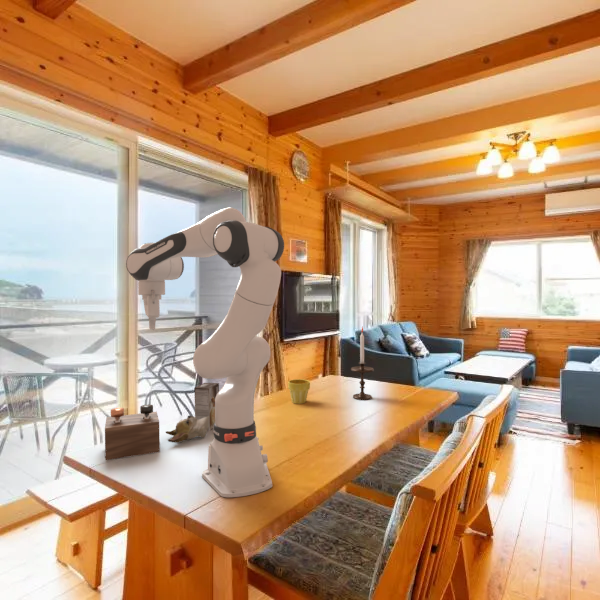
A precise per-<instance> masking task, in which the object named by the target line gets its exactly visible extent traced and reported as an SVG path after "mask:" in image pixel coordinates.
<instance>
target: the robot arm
mask: <svg viewBox="0 0 600 600" xmlns="http://www.w3.org/2000/svg"><path fill="white" fill-rule="evenodd" d="M284 240H285V239H284V238H283V235H282V234H281V233H280V232H279V231H277V230H275V229H274V228H272V227H269V226H264V225H260V224H258V223H255V222H251V221H250V222H249V221H247V220H246V217H245V216H244V215H243V213H242V212H241V211H240V210H238V209H237V208H234V207H225V208H222V209H219V210H217V211H215V212H213V213H211V214H209V215H207V216H206V217H204V218H203V219H201V220H200V221H198V222H197V223H195V224H193V225H191V226H189V227H187V228H184V229H182V230H180V231H178V232H175V233H171V234H170V235H168V236H165V237H163V238H162V239H160V240H158V241H155V242H147V243H143V244H141V245H140V247H139V248H138V247H137V248H135V249H134V250H132V251H131V252H130V253H129V255H128V256H127V259H126V263H125V265H126V266H125V267H126V270H127V272H128V273H129V275H130V276H132V278H133V279H134V280H136V281H137V285H138V286H137V288H138V291H137V292H138V293H137V294H138V296H141V297H142V300H143V306H144V312H145V313H144V314H145V316H146V317H147V318H148V325H149V326H148V327H149V328H148V329H149V330H150V331H152V330H153V331H154V330H156V321H157V318H160V316H161V315H160V311H161V310H160V300H162V296H164V295H166V281H174V280H178V279H179V278H181V276H182V275H183V273H184V270H185V263H184V260H183V258H211V257H213V256H217V255H218V256H219V257H220V258H222V259H223V260H224V261H225V262H227V263H228V265H229V266H230V267H232V268H238V267H239V269H240V277H239V281H238V284H237V286H236V290H235V292H234V295H233V299H232V301H231V303H230V306H229V308H228V311H227V314H226V315H225V316H224V319H223V321H222V322H221V323H220V325H219V326H218V327H217V328H216V330H215V331H214V332H213V333H212V334H211V335H210V336H209V337H208V338H207V339H206V340H204V341H203V342H201V344H199V345H198V346H197V347H196V348H195V351H194V353H193V357H192V360H193V362H192V363H193V367H194V370H195V371H196V373H197V375H199V376H200V377H201V378H203V379H204V380H205V379H207V380H222V379H226V380H225V382H224V384H223V386H222V387H221V388H220V389H219V392H218V393H217V395H216V398H215V423H214V428H212V430H213V440H212V441H211V443H209V445H208V449H207V450H208V451H207V452H208V453H207V469H205V470H204V471H202V473H201V477H202V479H204V480H205V481H206V482H207V483H208V484H209V486H210V487H211V488H212V489H213V490H214V491H215V492H216V493H218V495H219V496H221V497H223V498H240V497H247V496H250V495H255V494H259V493H262V492H265V491H267V490H269V489H271V488H273V481H272V477H271V474H270V471H269V467H268V461H269V460H268V458H269V457H268V454H267V453H263V454H262V451H264V447H263V445H260V442H259V437H258V436H257V426H256V421H255V417H254V416H255V415H254V414H255V413H254V408H255V393H256V388H257V384H258V381H259V380H260V376H261V373H262V371H263V370H264V368H265V367H266V366H267V364H268V363H269V361H270V359H271V347H270V344H269V343H268V341H267V340H266V339H265V338H264V337H262V336H259V335H258V334H260V333H261V332H262V331H263V330H264V329H265V327H266V326H267V324H268V320H269V318H270V315H271V312H272V310H273V307H274V304H275V302H276V299H277V296H278V292H279V288H280V283H281V277H282V269H281V267H280V265H279V264H278V263H277V261H278V260H280V258H281V257H282V255H283V253H284V250H285V241H284ZM257 335H258V336H257Z"/></svg>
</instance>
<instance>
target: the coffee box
mask: <svg viewBox="0 0 600 600" xmlns="http://www.w3.org/2000/svg"><path fill="white" fill-rule="evenodd" d="M219 391H220V383H219V382H203V383H202V384H199V385H197V386H196V387H194V417H195V418H196V419H198V420H199V419H202V418H205V417H207V416H209V427H208V430H207V431H211V430H213V428H214V423H215V398H216V395H217V393H218V392H219Z"/></svg>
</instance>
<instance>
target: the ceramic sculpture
mask: <svg viewBox="0 0 600 600" xmlns="http://www.w3.org/2000/svg"><path fill="white" fill-rule="evenodd" d="M208 427H209V416H207V417H205V418H202V419H199V420H198V419H196V418H195V416H194V415H187V417H186V418H184V419H181V420H179V421H178V422H177V423H176V426H175V429H172V430H171V431H165V433H166V434H167V435H169V436H172V437H171V438H170V439H168V440H167V441H168V442H170V443H177V444H178V443H182V442H185V441H189V440H192V439H194V438H197V437H199V438H201V439H204V438H205V437H206V434H207V431H209V430H208Z"/></svg>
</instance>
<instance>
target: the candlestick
mask: <svg viewBox="0 0 600 600" xmlns="http://www.w3.org/2000/svg"><path fill="white" fill-rule="evenodd" d="M359 337H360V338H359V342H360V343H359V347H360V348H359V353H360V354H359V357H360V358H359V359H360V360H359V362H358V364H359V366H357V365H356V366H352V367H350V371H351V372H354V373H359V374H360V381H359V385H360V386H359V388H360V393H356V394H353V395H352V399H354V400H358V401H369V400H371V399H372V398H373V397H372V395H371V394H369V393H365V390H364V389H365V388H366V387H365V384H366V381H365V379H364V377H365V376H364V375H365V374H366V373H368V374H369V373H372V372H373V373H374V371H375V370H374V367H371V366H365V364H367V362H365V335H364V328H363V326H362V327H361V334H360V336H359Z"/></svg>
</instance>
